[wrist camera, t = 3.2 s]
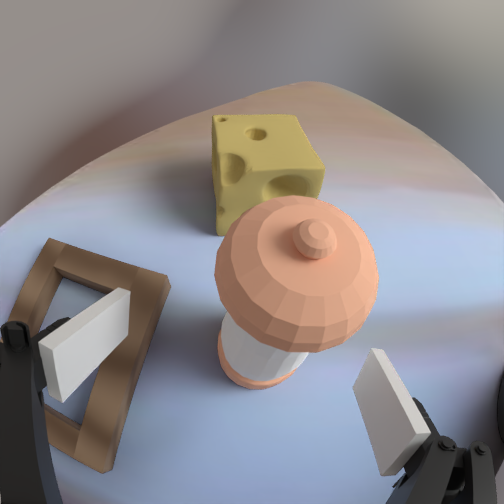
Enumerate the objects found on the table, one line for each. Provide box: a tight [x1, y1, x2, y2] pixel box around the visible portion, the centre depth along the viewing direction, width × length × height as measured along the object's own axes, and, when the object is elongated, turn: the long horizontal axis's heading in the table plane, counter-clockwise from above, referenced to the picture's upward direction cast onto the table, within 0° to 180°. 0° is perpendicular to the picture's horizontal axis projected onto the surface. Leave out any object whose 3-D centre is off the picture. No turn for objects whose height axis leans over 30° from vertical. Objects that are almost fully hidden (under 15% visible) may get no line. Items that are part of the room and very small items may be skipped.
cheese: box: [212, 114, 325, 236], centre depth 31 cm, size 10×11×10 cm
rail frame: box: [0, 238, 171, 474], centre depth 22 cm, size 20×16×2 cm
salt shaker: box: [214, 195, 379, 389], centre depth 18 cm, size 7×7×19 cm
